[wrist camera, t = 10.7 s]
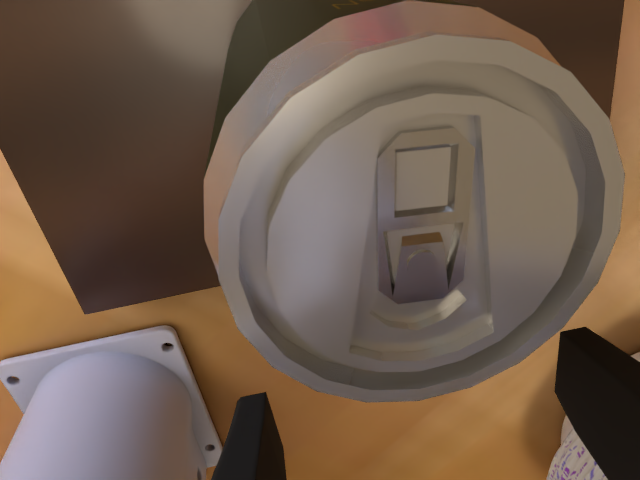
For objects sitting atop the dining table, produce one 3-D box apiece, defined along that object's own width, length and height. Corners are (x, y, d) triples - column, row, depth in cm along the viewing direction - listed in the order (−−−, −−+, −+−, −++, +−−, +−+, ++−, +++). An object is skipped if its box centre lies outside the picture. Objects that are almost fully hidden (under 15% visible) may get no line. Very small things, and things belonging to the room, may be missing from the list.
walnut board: (572, 186, 22) (599, 205, 21) (97, 286, 22) (84, 315, 20) (614, -280, 15) (663, -312, 13) (-110, -147, 14) (-159, -161, 12)
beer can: (214, -21, 15) (143, 32, 5) (394, -35, 15) (705, -15, 5) (240, 153, 18) (232, 438, 7) (392, 138, 18) (593, 386, 8)
